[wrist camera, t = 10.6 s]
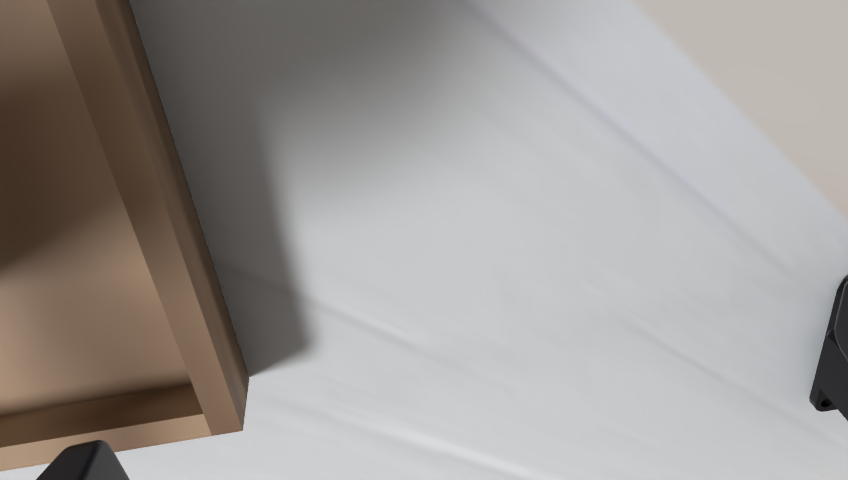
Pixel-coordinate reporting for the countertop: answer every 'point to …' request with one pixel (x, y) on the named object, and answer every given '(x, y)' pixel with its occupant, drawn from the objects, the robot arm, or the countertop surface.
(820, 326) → the countertop surface
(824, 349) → the robot arm
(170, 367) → the walnut tray
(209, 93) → the countertop surface
